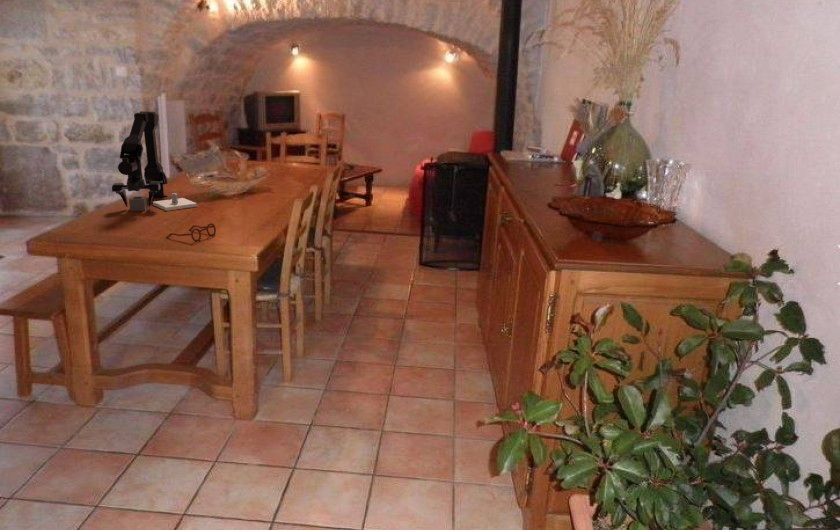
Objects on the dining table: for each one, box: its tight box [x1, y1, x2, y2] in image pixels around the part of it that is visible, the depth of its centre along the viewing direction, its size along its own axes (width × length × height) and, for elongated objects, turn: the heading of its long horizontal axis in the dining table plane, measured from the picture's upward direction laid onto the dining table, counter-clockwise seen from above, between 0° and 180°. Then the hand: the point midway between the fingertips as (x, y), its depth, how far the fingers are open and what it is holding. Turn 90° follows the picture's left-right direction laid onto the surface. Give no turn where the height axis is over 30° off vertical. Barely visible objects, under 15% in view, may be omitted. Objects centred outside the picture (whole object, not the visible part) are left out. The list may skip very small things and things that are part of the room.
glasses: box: [165, 222, 217, 242], centre depth 240 cm, size 13×13×5 cm
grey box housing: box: [128, 195, 148, 212], centre depth 276 cm, size 6×6×5 cm
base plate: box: [152, 192, 198, 212], centre depth 284 cm, size 14×14×6 cm
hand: (138, 206), depth 277 cm, fingers open, 9 cm apart
